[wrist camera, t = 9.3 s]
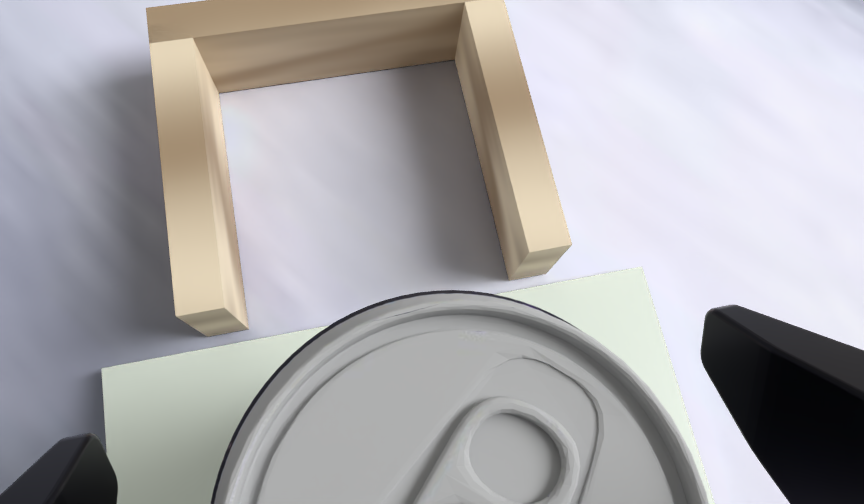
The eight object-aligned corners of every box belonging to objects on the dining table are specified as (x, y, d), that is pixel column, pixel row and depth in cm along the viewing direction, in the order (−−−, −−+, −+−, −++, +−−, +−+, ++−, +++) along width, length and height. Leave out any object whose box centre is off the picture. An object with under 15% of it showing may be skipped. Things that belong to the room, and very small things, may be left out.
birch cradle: (546, 273, 20) (572, 244, 17) (207, 336, 19) (175, 316, 16) (480, 25, 23) (494, -36, 20) (177, 66, 22) (146, 8, 19)
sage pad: (727, 578, 18) (739, 582, 17) (133, 730, 16) (124, 740, 16) (634, 271, 21) (642, 266, 20) (110, 370, 19) (101, 368, 18)
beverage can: (269, 522, 17) (31, 669, 6) (384, 340, 19) (381, 170, 7) (453, 645, 17) (601, 1081, 5) (556, 447, 18) (843, 442, 7)
